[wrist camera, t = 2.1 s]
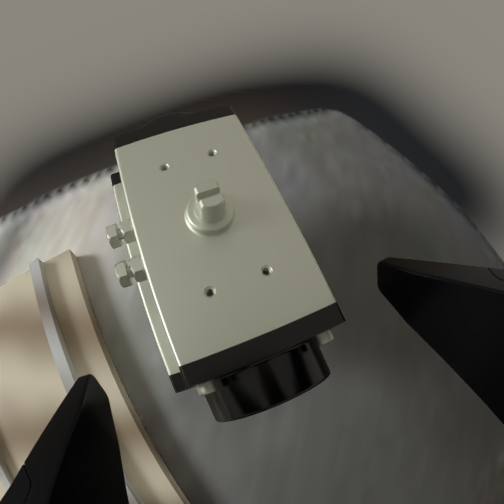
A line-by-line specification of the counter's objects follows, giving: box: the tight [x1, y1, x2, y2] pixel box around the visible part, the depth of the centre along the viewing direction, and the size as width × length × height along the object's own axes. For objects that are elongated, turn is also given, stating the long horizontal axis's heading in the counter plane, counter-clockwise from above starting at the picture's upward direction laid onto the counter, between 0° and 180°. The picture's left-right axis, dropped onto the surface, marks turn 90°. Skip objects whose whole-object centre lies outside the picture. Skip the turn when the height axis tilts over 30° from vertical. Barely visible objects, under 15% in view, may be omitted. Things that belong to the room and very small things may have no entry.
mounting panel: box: [0, 250, 190, 504], centre depth 13 cm, size 22×14×2 cm, turn 28°
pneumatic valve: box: [106, 105, 345, 422], centre depth 14 cm, size 6×12×12 cm, turn 23°
